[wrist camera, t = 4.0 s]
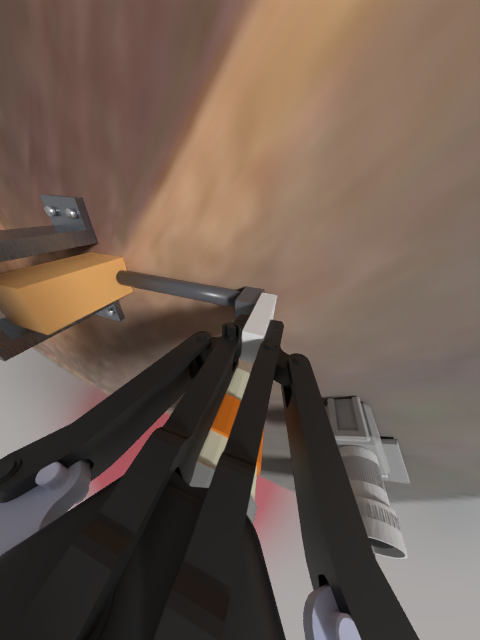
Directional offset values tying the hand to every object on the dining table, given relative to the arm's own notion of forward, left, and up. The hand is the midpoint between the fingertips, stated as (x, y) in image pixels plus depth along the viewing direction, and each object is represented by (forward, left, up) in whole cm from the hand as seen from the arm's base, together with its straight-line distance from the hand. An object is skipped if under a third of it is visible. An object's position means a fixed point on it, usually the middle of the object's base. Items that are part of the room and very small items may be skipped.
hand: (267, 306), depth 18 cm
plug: (0, -12, -1) cm, 13 cm away
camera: (+18, +15, -2) cm, 23 cm away
